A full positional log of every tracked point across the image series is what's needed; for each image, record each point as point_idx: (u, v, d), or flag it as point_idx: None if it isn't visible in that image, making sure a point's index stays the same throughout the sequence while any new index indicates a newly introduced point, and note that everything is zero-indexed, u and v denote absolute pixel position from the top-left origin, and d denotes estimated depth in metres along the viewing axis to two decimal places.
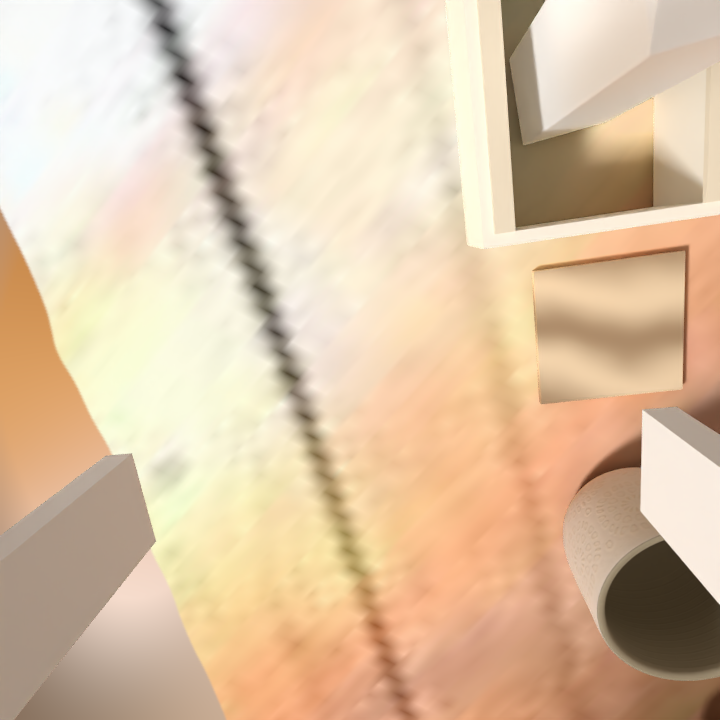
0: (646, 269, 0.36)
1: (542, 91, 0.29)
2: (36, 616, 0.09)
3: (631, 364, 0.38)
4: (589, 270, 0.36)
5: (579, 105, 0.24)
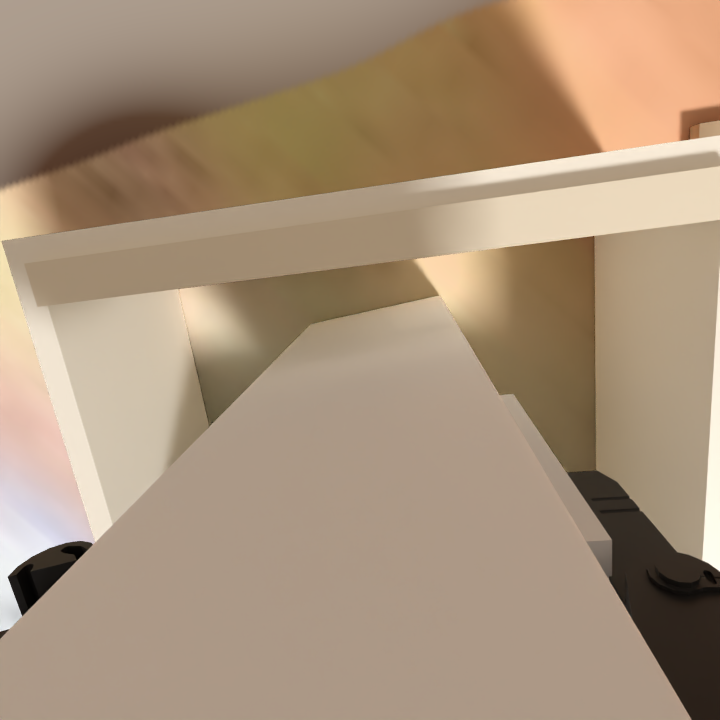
0: None
1: None
2: None
3: None
4: None
5: None
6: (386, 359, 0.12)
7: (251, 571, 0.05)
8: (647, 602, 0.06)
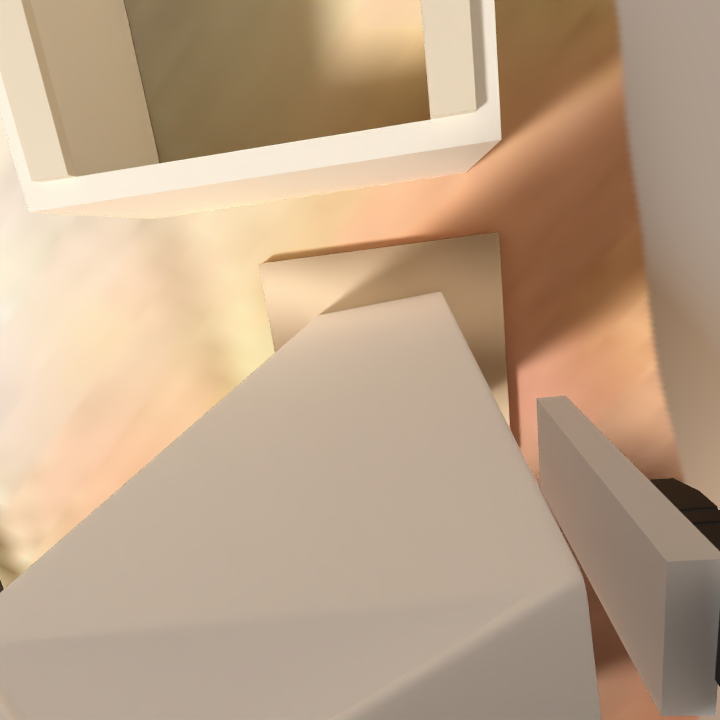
0: (438, 264, 0.21)
1: None
2: None
3: None
4: (346, 263, 0.22)
5: None
6: (385, 343, 0.13)
7: (265, 490, 0.06)
8: None
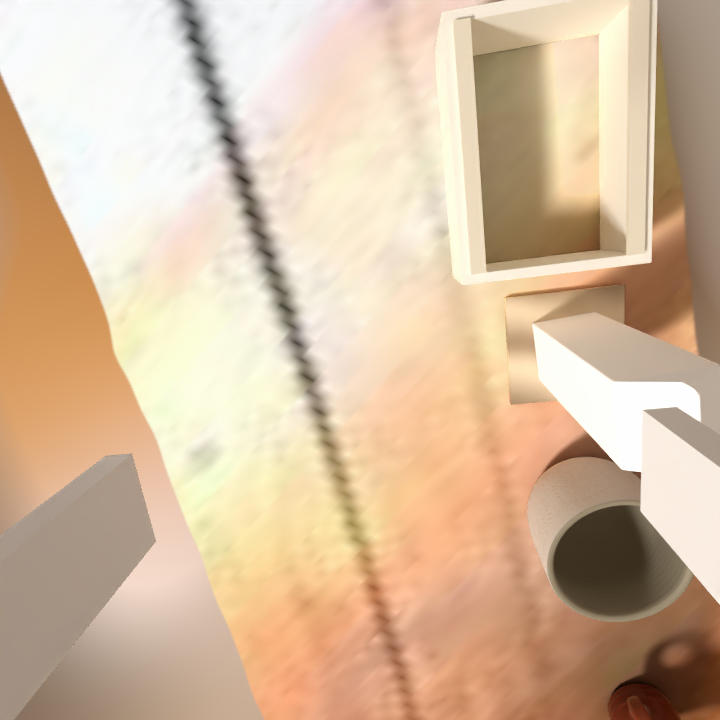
0: (594, 299, 0.45)
1: None
2: (36, 616, 0.09)
3: None
4: (549, 298, 0.46)
5: None
6: (612, 335, 0.37)
7: (643, 364, 0.30)
8: None
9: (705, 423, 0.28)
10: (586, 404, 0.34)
